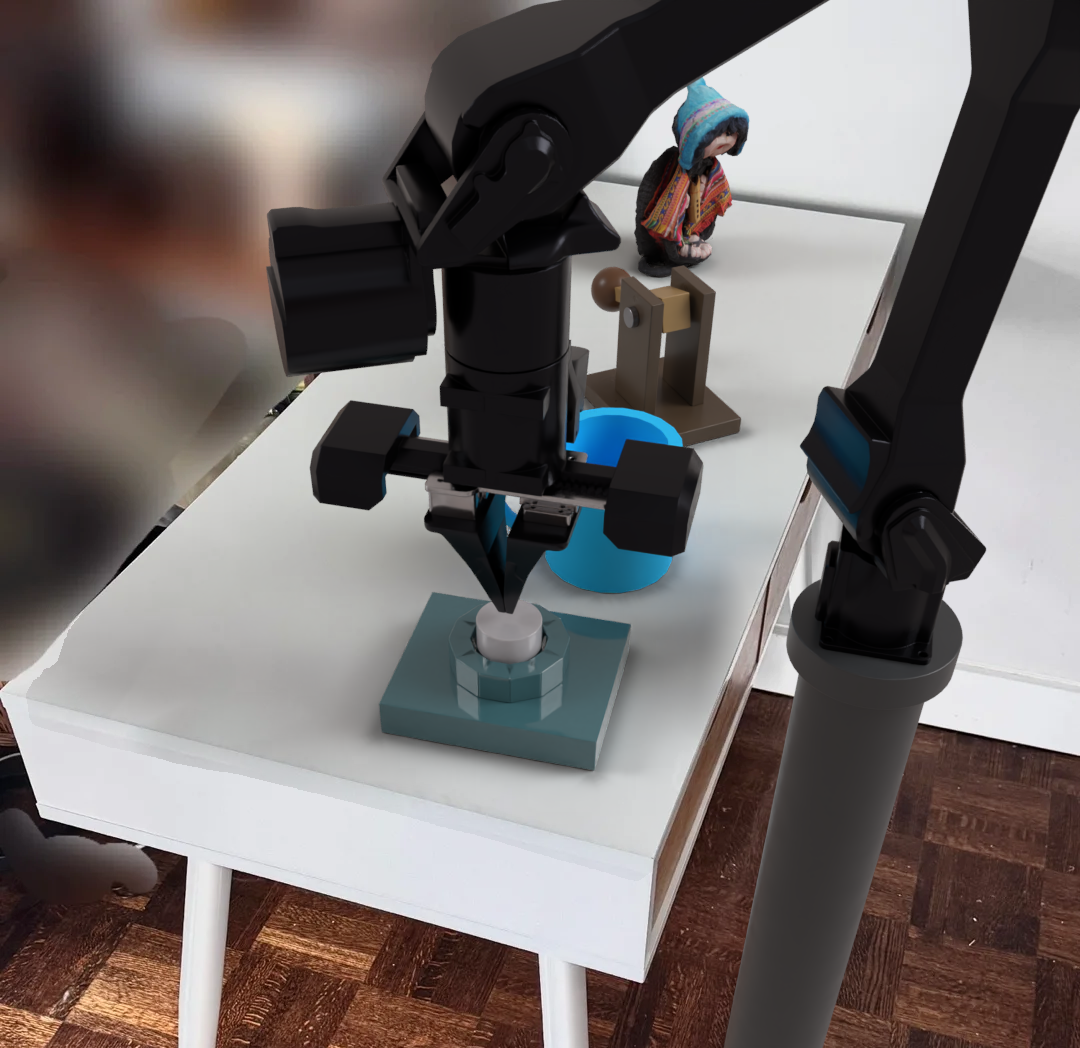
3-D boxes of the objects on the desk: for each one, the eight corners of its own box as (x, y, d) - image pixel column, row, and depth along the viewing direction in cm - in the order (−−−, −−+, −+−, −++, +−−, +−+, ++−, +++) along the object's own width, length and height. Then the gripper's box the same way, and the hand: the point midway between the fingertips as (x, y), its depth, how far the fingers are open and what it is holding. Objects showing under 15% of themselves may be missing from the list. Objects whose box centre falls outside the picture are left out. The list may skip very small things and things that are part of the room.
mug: (677, 523, 88) (689, 414, 82) (665, 600, 82) (676, 488, 76) (498, 503, 89) (497, 395, 83) (474, 578, 83) (471, 467, 78)
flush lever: (585, 311, 100) (582, 267, 99) (622, 303, 101) (620, 260, 100) (657, 341, 91) (654, 293, 90) (697, 332, 92) (695, 284, 91)
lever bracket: (578, 390, 100) (582, 265, 93) (671, 368, 102) (682, 245, 95) (642, 457, 93) (652, 328, 86) (740, 432, 96) (757, 305, 89)
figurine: (685, 293, 111) (703, 107, 101) (617, 268, 114) (627, 84, 104) (749, 253, 117) (773, 72, 106) (683, 230, 120) (699, 53, 110)
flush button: (548, 627, 74) (549, 603, 73) (533, 669, 72) (533, 645, 71) (486, 617, 75) (485, 593, 74) (468, 658, 72) (468, 634, 71)
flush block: (629, 652, 78) (633, 599, 76) (594, 771, 71) (597, 717, 69) (433, 619, 80) (430, 566, 77) (381, 732, 73) (375, 679, 70)
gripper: (733, 288, 65) (702, 547, 76) (369, 244, 68) (389, 499, 79) (699, 404, 57) (670, 674, 68) (289, 348, 60) (323, 616, 71)
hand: (508, 608), depth 72 cm, fingers closed
